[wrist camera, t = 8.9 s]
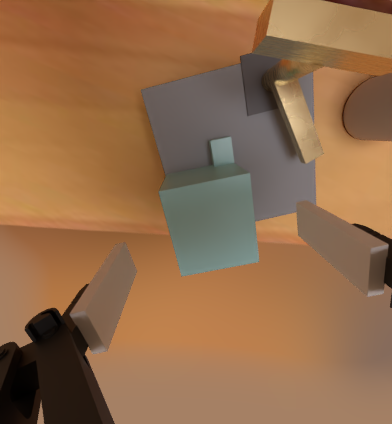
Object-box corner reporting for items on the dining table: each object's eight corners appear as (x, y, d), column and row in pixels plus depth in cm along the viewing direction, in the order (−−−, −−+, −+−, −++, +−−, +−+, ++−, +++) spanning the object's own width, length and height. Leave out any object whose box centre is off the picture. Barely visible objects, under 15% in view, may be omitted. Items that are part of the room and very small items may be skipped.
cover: (161, 150, 21) (149, 158, 15) (228, 136, 21) (246, 138, 15) (183, 239, 25) (181, 276, 19) (240, 227, 25) (259, 261, 18)
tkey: (216, 150, 21) (240, 164, 12) (231, 61, 19) (276, -13, 9) (306, 162, 22) (394, 184, 13) (332, 78, 19) (469, 27, 10)
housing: (149, 94, 25) (138, 83, 19) (283, 59, 24) (313, 36, 18) (184, 218, 31) (183, 238, 25) (292, 193, 30) (317, 208, 24)
